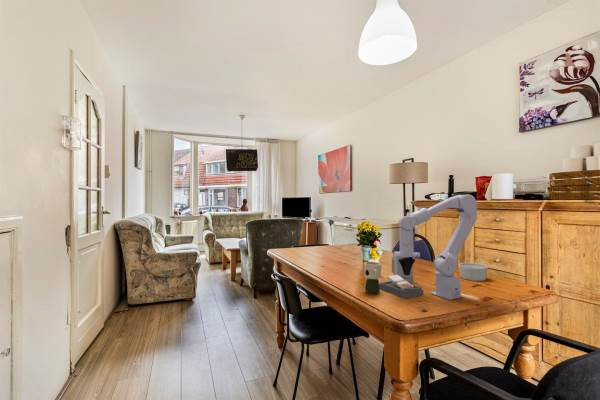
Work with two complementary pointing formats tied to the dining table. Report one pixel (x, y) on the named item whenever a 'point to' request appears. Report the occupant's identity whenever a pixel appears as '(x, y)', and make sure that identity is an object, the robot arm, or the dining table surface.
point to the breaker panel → (396, 290)
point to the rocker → (400, 282)
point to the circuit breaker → (401, 270)
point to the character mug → (372, 276)
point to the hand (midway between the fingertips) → (406, 275)
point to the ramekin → (473, 271)
